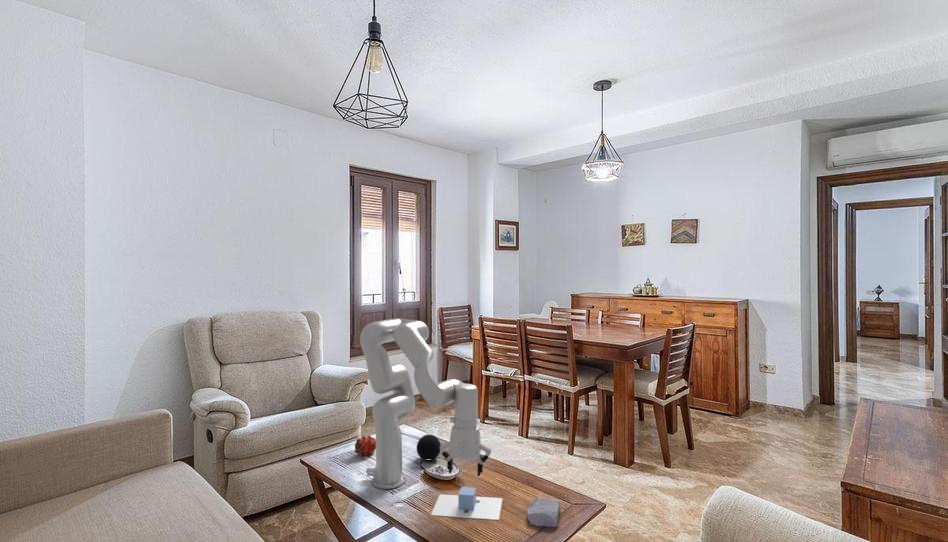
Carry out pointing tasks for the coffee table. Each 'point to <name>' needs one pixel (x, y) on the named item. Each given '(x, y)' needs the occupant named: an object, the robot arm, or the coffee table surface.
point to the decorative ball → (428, 447)
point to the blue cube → (467, 498)
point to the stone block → (544, 512)
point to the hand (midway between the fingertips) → (464, 472)
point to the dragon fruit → (365, 446)
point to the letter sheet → (482, 510)
